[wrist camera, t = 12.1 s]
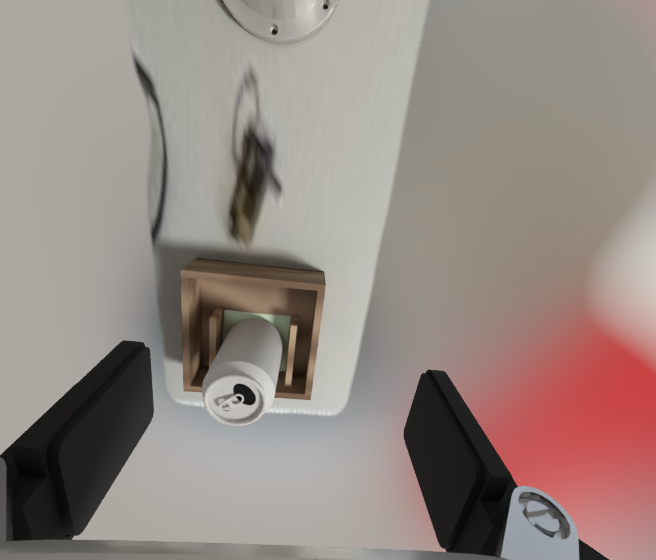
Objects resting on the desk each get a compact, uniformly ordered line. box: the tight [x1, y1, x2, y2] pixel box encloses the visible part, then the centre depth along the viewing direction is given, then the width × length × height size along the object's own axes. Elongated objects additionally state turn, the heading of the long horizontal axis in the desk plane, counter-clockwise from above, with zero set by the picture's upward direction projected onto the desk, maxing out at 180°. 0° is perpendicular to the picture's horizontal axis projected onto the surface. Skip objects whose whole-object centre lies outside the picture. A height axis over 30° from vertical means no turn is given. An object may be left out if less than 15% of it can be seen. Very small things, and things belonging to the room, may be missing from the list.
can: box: [202, 319, 283, 426], centre depth 36 cm, size 8×8×12 cm
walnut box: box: [180, 258, 326, 400], centre depth 39 cm, size 16×16×5 cm
